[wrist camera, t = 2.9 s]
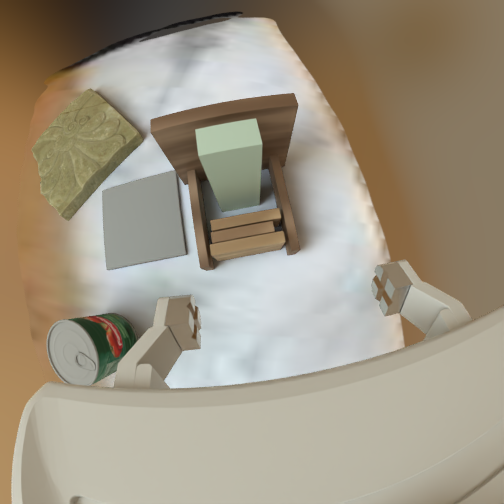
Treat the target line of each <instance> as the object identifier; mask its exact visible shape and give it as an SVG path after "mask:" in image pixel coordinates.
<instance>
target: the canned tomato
mask: <svg viewBox="0 0 504 504" xmlns="http://www.w3.org/2000/svg"><path fill="white" fill-rule="evenodd" d="M137 341H138V338H137V335H136V332H135V330H134V328H133V327H132V325H131V324H130V323H129V321H128V320H127V319H125V318H124V317H122V316H120V315H118V314H114V313H108V314H102V315H96V316H89V317H82V318H74V319H63V320H59V321H57V322H56V323H54V324H53V326H52V327H51V328H50V330H49V333H48V336H47V353H48V357H49V361H50V363H51V365H52V368H53V369H54V371H55V373H56V374H57V375H58V376H59V378H60V379H61V380H62V381H63V382H65V383H68V384H76V385H85V386H91V385H92V384H94V383H96V382H98V381H100V380H101V379H103V378H105V377H107V376H109V375H110V374H112V373H114V372H116V371H117V366H118V363H119V362H120V360H121V359H122V358H123V357H124V356H125V355H126V354H127V352H128V351H129V350H130V349H131V348H132V347H133V346H134V345H135V343H136V342H137Z"/></svg>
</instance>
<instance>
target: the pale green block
mask: <svg viewBox="0 0 504 504" xmlns="http://www.w3.org/2000/svg"><path fill="white" fill-rule="evenodd" d="M195 132H196V140H197V148H198V156H199V159H200V161H201V163H202V166H203V168H204V170H205V173H206V175H207V178H208V180H209V182H210V185H211V187H212V190H213V192H214V194H215V197H216V199H217V201H218V204H219V206H220V208H221V211H222V212H225V211H230V210H236V209H241V208H246V207H252V206H257V205H260V185H261V165H262V145H263V144H262V140H261V136H260V132H259V128H258V124H257V120H256V118H255V119H248V120H242V121H236V122H230V123H225V124H219V125H214V126H209V127H205V128H200V129H195Z"/></svg>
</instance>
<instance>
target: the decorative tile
mask: <svg viewBox="0 0 504 504" xmlns="http://www.w3.org/2000/svg"><path fill="white" fill-rule="evenodd" d="M142 142H143V138H142V137H141V135H140V133H139V132H138V131H137V130H136V129H135V128H134V127H133V126H132V125H131V124H130V123H129V122H128V121H127V120H126V119H125V118H124V117H123V116H122V115H121V114H120V113H118V112H117V111H116V110H115V109H114V108H113V107H112V106H111V105H109V103H108V102H107V101H106V100H104V99H103V98H102V97H101V96H100V95H98V94H97V93H96V92H95V91H94V90H92V89H88V90H86V91H85V92H84V93H83V94H81V95H80V96H79V97H78V98H77V99H76V100H74V101H73V102H72V103H71V104H70V105H69V106H68V107H67V108H66V109H65V110H64V111H63V112H62V113H61V114H60V115H59V116H58V117H57V118H56V119H55V120H54V121H53V123H52V124H51V125H50V126H49V128H48V129H47V130H46V131H45V132H44V133H43V134H42V135H41V136H40V138H39V139H38V140H37V142H36V144H35V145H34V147H33V148H32V152H33V153H34V154H33V155H34V158H35V159H36V160H37V162H38V165H39V167H38V169H39V175H40V177H41V178H42V179H41V182H40V184H41V194H42V195H44V196H45V198H46V199H47V201H48V202H49V204H50V205H52V206H53V207H55V208H56V209H57V211H58V212H59V215H60V216H62V217H63V218H65V219H66V220H67V221H69V220H70V219H71V218H72V216H73V215H74V214H75V213H76V212H77V211H78V209H79V208H80V207H81V206H82V205H83V204H84V202H85V201H86V200H87V199H88V198H89V197H90V196H91V194H92V193H93V192H94V191H95V190H96V189H97V188H98V187H99V186H100V185H101V183H102V182H103V181H104V180H105V179H106V178H107V177H108V176H109V175H110V174H111V173H112V172H113V171H114V170H115V169H116V168H117V167H118V166H119V165H120V164H121V163H122V162H123V161H124V160H125V159H126V158H127V157H128V156H129V155H130V154H131V153H132V152H133V151H134V150H135V149H136V148H137V147H138V146H139V145H140V144H141V143H142Z"/></svg>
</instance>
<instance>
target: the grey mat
mask: <svg viewBox="0 0 504 504" xmlns="http://www.w3.org/2000/svg"><path fill="white" fill-rule="evenodd" d="M102 200H103V230H104V245H105V257H106V267H107V270H112V269H117V268H122V267H127V266H132V265H137V264H142V263H147V262H152V261H157V260H162V259H167V258H172V257H178V256H183V255H187V253H186V246H185V239H184V232H183V224H182V217H181V209H180V200H179V191H178V182H177V172H176V171H175V170H174V171H170V172H166V173H162V174H158V175H155V176H151V177H147V178H143V179H140V180H136V181H133V182H129V183H126V184H123V185H119V186H116V187H113V188H110V189H107V190H103V191H102Z"/></svg>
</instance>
